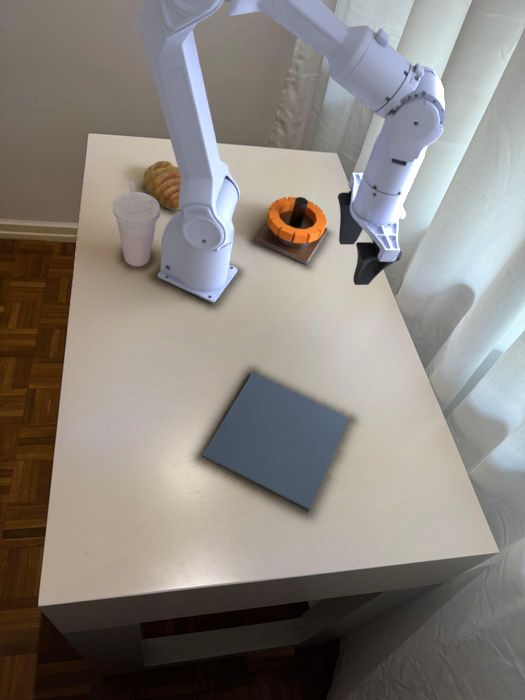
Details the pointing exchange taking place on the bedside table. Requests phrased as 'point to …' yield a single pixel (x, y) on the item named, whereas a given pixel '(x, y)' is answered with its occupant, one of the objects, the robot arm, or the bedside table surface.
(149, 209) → the smoothie
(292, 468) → the mat
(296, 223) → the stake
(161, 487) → the bedside table surface
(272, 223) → the ring
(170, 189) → the pastry
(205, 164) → the robot arm
